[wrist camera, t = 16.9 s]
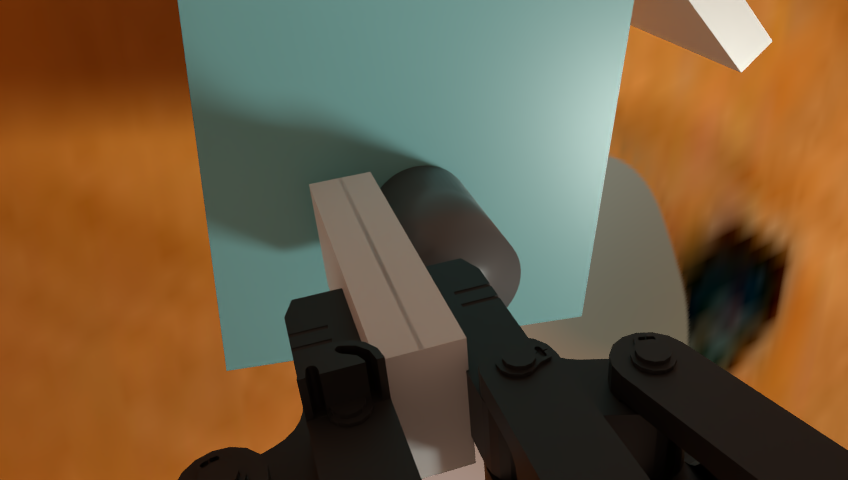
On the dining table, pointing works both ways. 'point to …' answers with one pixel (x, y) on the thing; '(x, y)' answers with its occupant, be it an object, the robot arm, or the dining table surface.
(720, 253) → the dining table surface
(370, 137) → the lid
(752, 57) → the grey planter box
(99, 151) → the dining table surface
